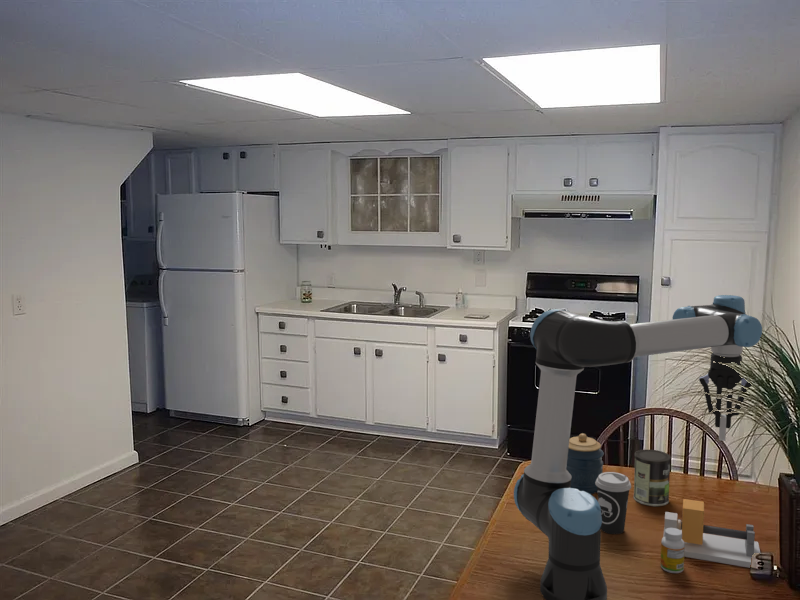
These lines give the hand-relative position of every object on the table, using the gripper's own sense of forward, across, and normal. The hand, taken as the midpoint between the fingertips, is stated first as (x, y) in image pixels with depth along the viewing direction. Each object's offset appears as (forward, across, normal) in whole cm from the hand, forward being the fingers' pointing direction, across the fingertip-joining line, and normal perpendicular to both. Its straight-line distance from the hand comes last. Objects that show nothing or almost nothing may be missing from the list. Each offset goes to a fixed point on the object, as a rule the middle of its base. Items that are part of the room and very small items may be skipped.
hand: (722, 438), depth 185 cm
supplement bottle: (+27, +11, +25) cm, 38 cm away
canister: (+27, +39, -17) cm, 50 cm away
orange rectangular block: (+24, +7, +12) cm, 28 cm away
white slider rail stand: (+26, +2, +12) cm, 29 cm away
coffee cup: (+27, +27, +9) cm, 39 cm away
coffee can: (+27, +18, -15) cm, 35 cm away
